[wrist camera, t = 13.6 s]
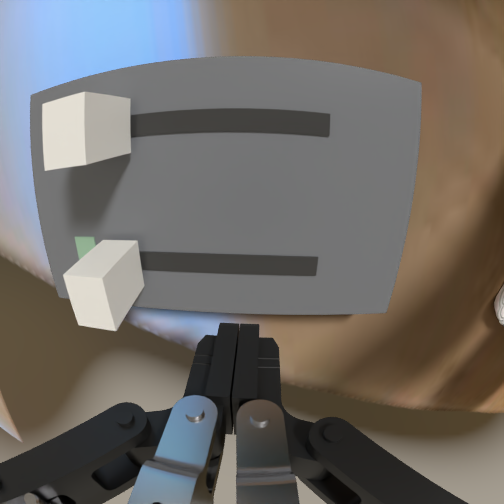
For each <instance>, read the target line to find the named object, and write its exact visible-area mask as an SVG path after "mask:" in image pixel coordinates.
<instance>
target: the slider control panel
mask: <svg viewBox="0 0 504 504" xmlns="http://www.w3.org/2000/svg"><path fill="white" fill-rule="evenodd" d="M81 92H92V93H99V94H106V95H112V96H118V97H124V98H130V134H131V153H129V154H125V155H121V156H117V157H113V158H109V159H105V160H102V161H98V162H94V163H91V164H88V165H81V166H74V167H67V168H60V169H53V170H47V171H45V168H44V155H43V134H42V104H44V103H47V102H50V101H53V100H57V99H60V98H63V97H67V96H70V95H74V94H78V93H81ZM420 125H421V83H420V82H417V81H414V80H410V79H407V78H403V77H399V76H396V75H392V74H388V73H384V72H379V71H375V70H370V69H365V68H360V67H355V66H349V65H344V64H337V63H331V62H323V61H315V60H306V59H295V58H281V57H258V56H228V57H205V58H191V59H180V60H171V61H163V62H156V63H149V64H143V65H137V66H132V67H126V68H121V69H117V70H112V71H108V72H103V73H99V74H95V75H91V76H88V77H84V78H80V79H77V80H73V81H70V82H67V83H64V84H61V85H58V86H55V87H52V88H49V89H46V90H43V91H40V92H38V93H35V94H33V95H31V102H30V136H31V156H32V168H33V178H34V187H35V194H36V201H37V208H38V214H39V219H40V225H41V230H42V235H43V239H44V244H45V248H46V252H47V256H48V260H49V264H50V268H51V272H52V275H53V279H54V282H55V286H56V289H57V292H58V295H59V297H61V298H68V299H70V298H69V294H68V291H67V288H66V284H65V281H64V277H63V274H64V273H66V272H67V271H68V270H69V269H70V268H71V267H72V266H73V265H74V264H76V263H77V262H78V261H79V260H80V259H81V258H82V257H83V256H85V255H86V254H87V253H88V252H89V251H90V250H92V249H93V248H94V247H95V246H96V245H97V244H99V243H100V242H101V241H102V240H136V241H138V247H139V254H140V261H141V268H142V274H143V280H144V287H143V289H142V291H141V292H140V294H139V295H138V297H137V298H136V300H135V301H134V303H133V305H132V306H136V307H146V308H158V309H171V310H184V311H200V312H219V313H242V314H281V315H335V314H373V313H386V312H387V309H388V305H389V302H390V299H391V295H392V292H393V288H394V284H395V281H396V277H397V273H398V269H399V265H400V261H401V257H402V252H403V248H404V243H405V239H406V234H407V229H408V223H409V218H410V212H411V207H412V200H413V194H414V187H415V180H416V171H417V163H418V152H419V140H420Z"/></svg>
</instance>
